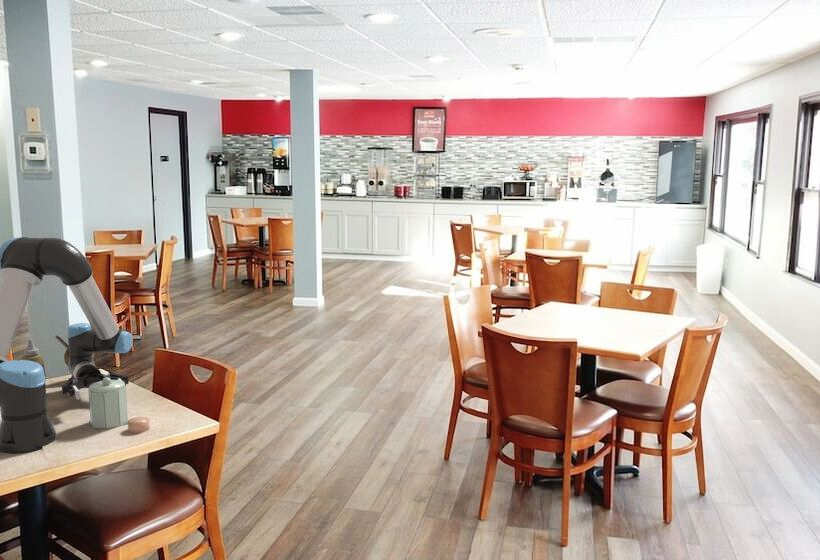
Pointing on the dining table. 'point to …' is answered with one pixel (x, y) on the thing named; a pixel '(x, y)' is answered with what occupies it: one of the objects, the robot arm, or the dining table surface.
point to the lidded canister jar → (108, 403)
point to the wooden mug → (67, 353)
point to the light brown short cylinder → (138, 425)
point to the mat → (107, 428)
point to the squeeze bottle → (33, 354)
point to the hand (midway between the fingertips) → (101, 391)
